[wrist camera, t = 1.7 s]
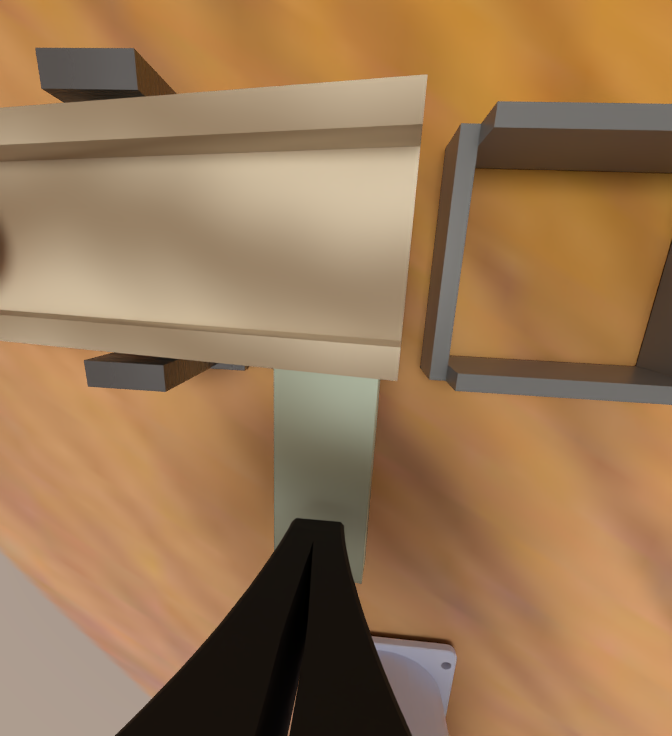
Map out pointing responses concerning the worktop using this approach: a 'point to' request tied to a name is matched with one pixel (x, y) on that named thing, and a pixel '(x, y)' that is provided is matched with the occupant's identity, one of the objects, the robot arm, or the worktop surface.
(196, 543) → the worktop surface
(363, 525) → the lever
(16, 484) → the worktop surface
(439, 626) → the worktop surface
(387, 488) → the worktop surface
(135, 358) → the pivot stand
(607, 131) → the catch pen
